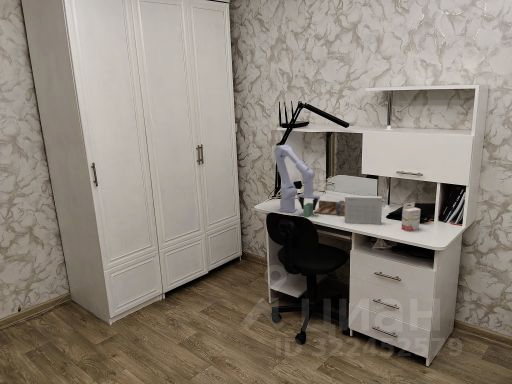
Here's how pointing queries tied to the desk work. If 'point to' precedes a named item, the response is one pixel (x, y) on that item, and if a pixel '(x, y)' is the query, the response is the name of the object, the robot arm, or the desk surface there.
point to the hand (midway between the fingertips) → (308, 209)
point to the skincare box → (363, 209)
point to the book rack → (331, 208)
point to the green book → (308, 210)
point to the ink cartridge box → (410, 217)
